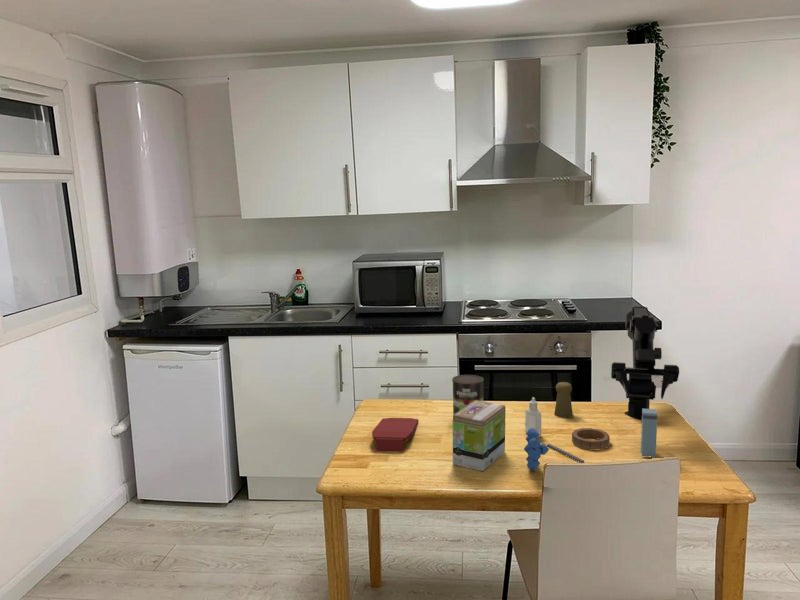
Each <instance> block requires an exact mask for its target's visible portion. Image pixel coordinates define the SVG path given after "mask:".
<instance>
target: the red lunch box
mask: <svg viewBox="0 0 800 600" xmlns="http://www.w3.org/2000/svg"><path fill="white" fill-rule="evenodd" d="M418 422H419V419H418V418H412V417H385V418H382V419H381V420H380V421H379V422H378V424H377V425H376V426H375V427H374V428H373V430H372V431H371V436H372V439H373V442H375V452H380V453H381V452H383V453H387V452H388V453H404V450H405V449H404V448H405V443H406V442H408V441H409V440H410V439H411V438H412V436H413V434H414V433H415V431H416V429H417V427H418V425H419V423H418Z"/></svg>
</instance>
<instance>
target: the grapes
mask: <svg viewBox="0 0 800 600" xmlns="http://www.w3.org/2000/svg"><path fill="white" fill-rule="evenodd" d="M525 434H526V438H525V440H526V443H527V444H526V445H525V446H524V448H523V450H524V451H525V453H526V454H527V457H526V458H525V460H526V461H527V463H526V466H527V468H529V470H531V471H535V470H537V468H538V467H539V466H540V464H541V463H540V461H539V459H540V458H541V456H543V455H546V454H547V453H548V452H549V450H550V448H549V447H547V444H544V443H541V441H540V440H539V439H538V438H540V437H539V433H538V432H537V431H536V430H535V429H534V428H531V429H529V430H528V431H527V433H526V432H525Z"/></svg>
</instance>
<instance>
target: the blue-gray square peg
mask: <svg viewBox="0 0 800 600" xmlns="http://www.w3.org/2000/svg"><path fill="white" fill-rule="evenodd" d="M657 430H658V411H657V409H655V408H654V409H653V408H649V409H642V419H641V432H640V433H641V439H640V441H641V442H640V453H641V454H642V455H641V454H640V455H641V457H642V456H651V457H656V458H657V456H656V455H657V436H658V435H657V434H658V432H657Z"/></svg>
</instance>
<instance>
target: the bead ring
mask: <svg viewBox="0 0 800 600" xmlns="http://www.w3.org/2000/svg"><path fill="white" fill-rule="evenodd" d="M583 437H585V438H583ZM591 437H592V439H586V438H591ZM597 438H598V439H597ZM610 439H611V438H610V434H609V433H608V432H606V431H604V430H601V429H597V428H592V427H581V428H578V429H574V430H573V432H571V442H572V444H573V445H574V446H575V445H576V447H577V446H578V448H580V449H583V448H584V449H583V450H588V449H601V450H603V449H602V448H604V449H607V448H608V447H609V446H610V442H611V441H610ZM608 445H609V446H608ZM606 447H607V448H606Z"/></svg>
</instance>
